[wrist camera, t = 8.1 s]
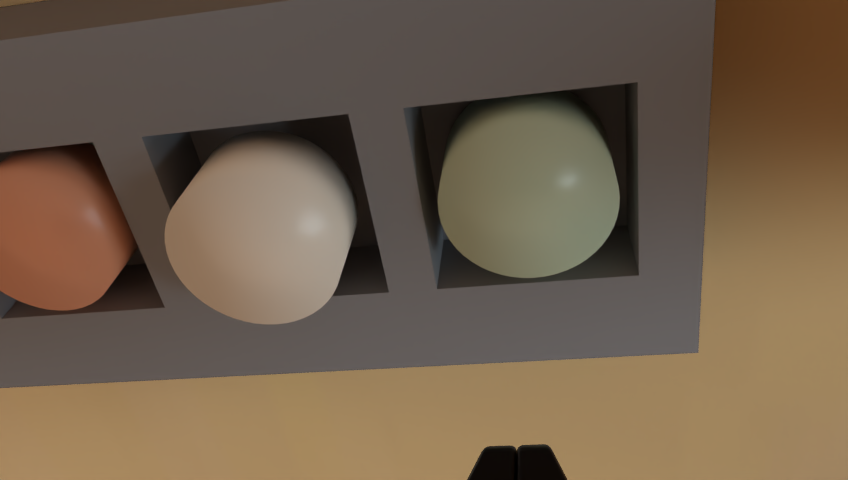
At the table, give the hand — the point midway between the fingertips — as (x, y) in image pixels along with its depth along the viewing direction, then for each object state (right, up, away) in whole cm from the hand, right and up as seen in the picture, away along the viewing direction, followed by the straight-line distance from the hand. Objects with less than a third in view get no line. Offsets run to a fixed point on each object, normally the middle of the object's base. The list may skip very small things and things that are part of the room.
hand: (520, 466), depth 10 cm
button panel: (-4, +5, +9) cm, 11 cm away
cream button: (-4, +4, +7) cm, 9 cm away
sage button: (+1, +5, +7) cm, 8 cm away
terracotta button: (-10, +4, +9) cm, 14 cm away
